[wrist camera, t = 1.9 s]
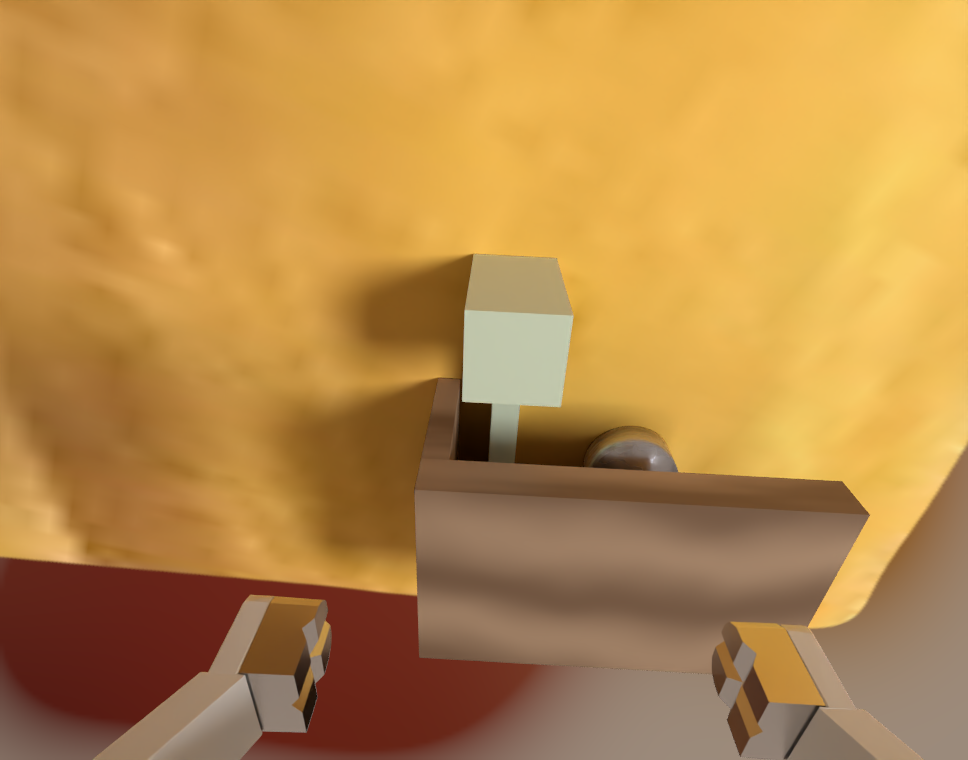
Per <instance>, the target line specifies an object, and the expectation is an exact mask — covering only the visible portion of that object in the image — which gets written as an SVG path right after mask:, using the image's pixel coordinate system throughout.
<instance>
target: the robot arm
mask: <svg viewBox="0 0 968 760" xmlns="http://www.w3.org/2000/svg"><path fill="white" fill-rule="evenodd" d="M327 612H328V608H327V604H326V600H314V599H302V598H288V597H276V596H260V595H250V596H249V597H248V598H247V599H246V600H245V602H244V603H243V605H242V607H241V609H240V611H239V613H238V615H237V617H236V619H235V620H234V623H233V625H232V626H231V628H230V630H229V632H228V634H227V636H226V638H225V640H224V642H223V644H222V646H221V648H220V650H219V652H218V654H217V656H216V658H215V660H214V662H213V664H212V666H211V668H210V670H209V672H200V673H199V674H198V675H197V676H195V677H194V678H193V679H192V680H190V681H189V682H188V683H187V684H185V685H184V686H183V687H182V688H180V689H179V690H178V691H177V692H176V693H174V694H173V695H172V696H171V697H169V698H168V699H167V700H166V701H164V702H163V703H162V704H161V705H159V706H158V707H157V708H156V709H155V710H153V711H152V712H151V713H150V714H148V715H147V716H146V717H145V718H144V719H142V720H141V721H140V722H138V723H137V724H136V725H135V726H134V727H132V728H131V729H130V730H129V731H127V732H126V733H125V734H124V735H122V736H121V737H120V738H119V739H117V740H116V741H115V742H114V743H112V744H111V745H110V746H109V747H108V748H106V749H105V750H104V751H103V752H101V753H100V754H99V755H98V756H96V757H95V758H94V759H93V760H240V759H241V758H242V757H243V755H244V754H245V753H246V752H247V751H248V750H249V749H250V748H251V746H252V745H253V744H254V743H255V742H256V741H257V740H258V738H259V737H260V736H261V735H262V731H273V732H274V731H276V732H307V729H308V726H309V723H310V719H311V716H312V713H313V710H314V707H315V703H316V700H317V692H316V686H315V683H316V682H317V681H318V680H319V679H320V678H321V677H322V676H323V675H324V674H325V670H326V666H327V663H328V660H329V653H330V648H331V627H330V625H329V624H328V623H327V622H326V621H325V619H326V616H327ZM721 633H722V636H723V639H724V642H722V643H720V644H719V645H717V646H716V647H715V650H714V652H713V655H712V675H713V680H714V684H715V687H716V690H717V693H718V696H719V697H720V698H721V699H722V701H723V702H724V703H726V704H727V706H729V708H730V712H729V715H728V718H727V722H728V724H729V727H730V730H731V733H732V736H733V739H734V741H735V744H736V747H737V750H738V752H739V755H740V757H746V758H758V759H770V760H924V759H923V758H921V757H920V756H919V755H918V754H917V753H915V752H914V751H913V750H912V749H911V748H910V747H908V746H907V745H906V744H905V743H903V742H902V741H901V740H900V739H899V738H898V737H896V736H895V735H894V734H893V733H892V732H890V731H889V730H888V729H887V728H886V727H884V726H883V725H882V724H881V723H880V722H879V721H877V720H876V719H875V718H874V717H872V716H871V715H870V714H869V713H868V712H867V711H865V710H864V709H856V708H855V706H854V704H853V702H852V701H851V699H850V697H849V695H848V694H847V692H846V690H845V689H844V687H843V685H842V683H841V682H840V680H839V678H838V676H837V675H836V673H835V671H834V669H833V668H832V666H831V664H830V662H829V661H828V659H827V657H826V655H825V654H824V652H823V650H822V648H821V647H820V645H819V643H818V642H817V640H816V638H815V636H814V635H813V633H812V631H811V630H810V629H809V628H807V627H806V626H802V625H782V624H776V623H753V622H728V623H726V624H725V625H724V627H723V630H722V632H721Z"/></svg>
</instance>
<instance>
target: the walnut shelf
mask: <svg viewBox="0 0 968 760" xmlns="http://www.w3.org/2000/svg"><path fill="white" fill-rule="evenodd" d="M459 411H460V379H448V378H438V382H437V387H436V392H435V396H434V401H433V406H432V410H431V415H430V419H429V424H428V429H427V433H426V438H425V443H424V447H423V452H422V457H421V461H420V466H419V471H418V475H417V480H416V485H415V489H414V493H415V527H416V561H417V595H418V627H419V657H421V658H438V659H454V660H473V661H489V662H507V663H524V664H541V665H559V666H576V667H577V666H578V667H593V668H611V669H628V670H646V671H665V672H682V673H698V674H699V673H700V674H712V655H713V652H714V650H715V647H716V646H717V645H719V644H720V643H722V642H724V639H723V636H722V633H721V632H722V630H723V627H724V625H725V624H726V623H728V622H753V623H776V624H782V625H802V626H806V627H808V625H809V623H810V621H811V620H812V618H813V616H814V614H815V613H816V611H817V609H818V607H819V605H820V604H821V602H822V600H823V598H824V596H825V595H826V593H827V591H828V589H829V587H830V586H831V584H832V582H833V580H834V578H835V577H836V575H837V573H838V571H839V569H840V568H841V566H842V564H843V562H844V561H845V559H846V557H847V555H848V553H849V552H850V550H851V548H852V546H853V544H854V543H855V541H856V539H857V537H858V535H859V534H860V532H861V530H862V528H863V526H864V525H865V523H866V521H867V519H868V517H869V516H870V515H869V513H868V512H867V511H866V510H865V508H864V507H863V506H862V505H861V504H860V502H859V501H858V500H857V499H856V498H855V496H854V495H853V494H852V493H851V492H850V490H849V489H848V488H847V487H846V486H845V484H844V483H843V482H842V481H824V480H805V479H787V478H769V477H751V476H733V475H715V474H696V473H678V472H660V471H642V470H624V469H606V468H587V467H569V466H551V465H533V464H515V463H497V462H478V461H460V460H458V452H459Z"/></svg>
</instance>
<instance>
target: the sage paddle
mask: <svg viewBox="0 0 968 760" xmlns="http://www.w3.org/2000/svg"><path fill="white" fill-rule="evenodd" d="M572 323H573V312H572V309H571V306H570V302H569V299H568V295H567V292H566V288H565V285H564V282H563V278H562V275H561V271H560V268H559V264H558V261H557V258H543V257H524V256H505V255H486V254H474V255H473V262H472V268H471V274H470V280H469V286H468V292H467V298H466V304H465V314H464V350H463V387H462V402H474V403H492V407H491V423H490V440H489V456H488V462H497V463H515V452H516V442H517V431H518V420H519V409H520V405H530V406H549V407H561V402H562V395H563V387H564V380H565V373H566V366H567V359H568V351H569V344H570V337H571V330H572Z"/></svg>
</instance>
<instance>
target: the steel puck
mask: <svg viewBox="0 0 968 760" xmlns="http://www.w3.org/2000/svg"><path fill="white" fill-rule="evenodd" d="M584 467H587V468H606V469H624V470H642V471H660V472H678V470H677V467H676V464H675V462H674V460H673V458H672V455H671V453H670V451H669V448H668V446H667V444H666V442H665V441H664V440H663V438H662V437H661V436H660V435H658V434H657V433H656V432H654V431H652V430H650V429H647V428H644V427H638V426H624V427H618V428H615V429H612V430H609V431H607V432H605V433H603V434H602V435H600V436H599V437H598V438H596V439H595V440H594V441H593V442H592V443H591V445H590V446H589V448H588V449H587V451H586V454H585V457H584Z"/></svg>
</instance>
